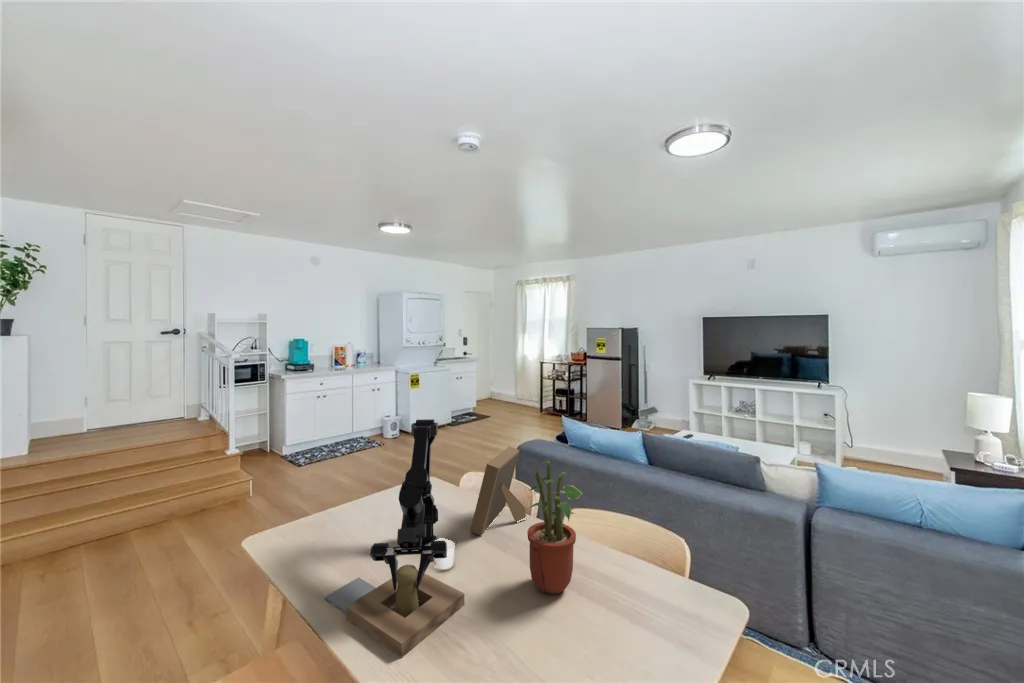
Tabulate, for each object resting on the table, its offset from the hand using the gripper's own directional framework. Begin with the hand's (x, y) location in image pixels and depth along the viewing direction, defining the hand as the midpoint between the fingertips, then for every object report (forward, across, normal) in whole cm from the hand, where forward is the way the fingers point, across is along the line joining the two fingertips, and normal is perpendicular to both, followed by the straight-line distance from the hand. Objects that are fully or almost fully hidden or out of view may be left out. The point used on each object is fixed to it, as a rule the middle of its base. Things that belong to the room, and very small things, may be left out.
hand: (405, 589), depth 98 cm
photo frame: (-27, +26, +36) cm, 52 cm away
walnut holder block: (+4, 0, +6) cm, 7 cm away
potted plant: (-2, +38, +12) cm, 40 cm away
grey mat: (-1, -15, +11) cm, 18 cm away
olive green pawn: (+4, 0, +6) cm, 7 cm away
